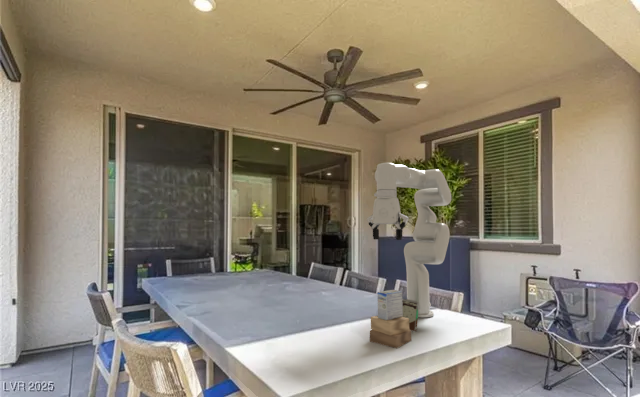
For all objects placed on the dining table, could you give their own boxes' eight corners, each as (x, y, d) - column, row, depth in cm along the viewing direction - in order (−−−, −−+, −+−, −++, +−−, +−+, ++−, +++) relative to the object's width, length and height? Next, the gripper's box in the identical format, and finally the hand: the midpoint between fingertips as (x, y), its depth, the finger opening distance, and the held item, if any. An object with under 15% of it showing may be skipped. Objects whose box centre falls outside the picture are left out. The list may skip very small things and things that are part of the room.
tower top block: (389, 324, 127) (389, 313, 127) (409, 330, 120) (409, 318, 120) (370, 328, 122) (370, 316, 122) (390, 335, 115) (389, 322, 115)
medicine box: (393, 314, 125) (392, 289, 126) (403, 317, 122) (402, 291, 123) (377, 318, 121) (376, 291, 121) (387, 320, 117) (386, 293, 118)
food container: (426, 329, 134) (426, 301, 135) (418, 332, 130) (418, 304, 131) (397, 323, 143) (397, 297, 144) (389, 326, 138) (389, 299, 139)
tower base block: (385, 335, 127) (385, 324, 128) (411, 341, 121) (411, 329, 121) (369, 342, 120) (369, 330, 120) (396, 349, 113) (396, 336, 114)
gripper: (362, 195, 141) (362, 239, 140) (403, 193, 131) (404, 240, 129) (371, 196, 147) (372, 238, 146) (411, 194, 136) (412, 239, 135)
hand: (387, 239), depth 137 cm, fingers open, 9 cm apart
